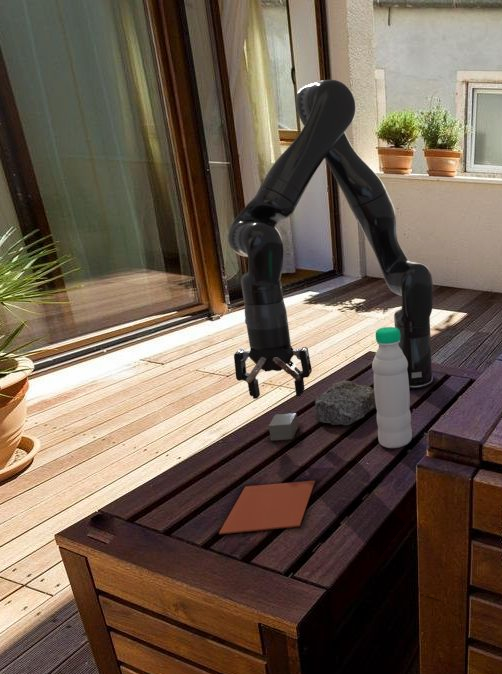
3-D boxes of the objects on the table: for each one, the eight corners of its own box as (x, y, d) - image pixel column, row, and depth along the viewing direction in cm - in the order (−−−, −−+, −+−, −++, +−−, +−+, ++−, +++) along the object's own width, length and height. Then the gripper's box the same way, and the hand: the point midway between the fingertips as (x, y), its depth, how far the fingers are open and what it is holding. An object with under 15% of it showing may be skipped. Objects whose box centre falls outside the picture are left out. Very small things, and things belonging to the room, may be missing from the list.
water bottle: (401, 452, 96) (393, 336, 88) (371, 446, 98) (361, 332, 90) (418, 435, 103) (412, 326, 94) (389, 430, 105) (381, 322, 97)
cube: (277, 428, 105) (275, 414, 104) (298, 427, 106) (296, 413, 104) (270, 440, 100) (268, 425, 99) (292, 439, 101) (290, 424, 100)
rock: (352, 432, 104) (385, 405, 118) (351, 406, 102) (385, 381, 116) (303, 423, 107) (341, 397, 121) (300, 397, 105) (339, 374, 119)
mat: (245, 487, 85) (245, 486, 85) (315, 481, 87) (315, 480, 86) (219, 534, 73) (218, 533, 73) (299, 526, 75) (299, 525, 75)
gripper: (308, 316, 99) (316, 387, 104) (236, 318, 97) (248, 390, 102) (300, 327, 92) (309, 402, 97) (221, 329, 90) (235, 405, 95)
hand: (278, 396), depth 100 cm, fingers open, 8 cm apart
